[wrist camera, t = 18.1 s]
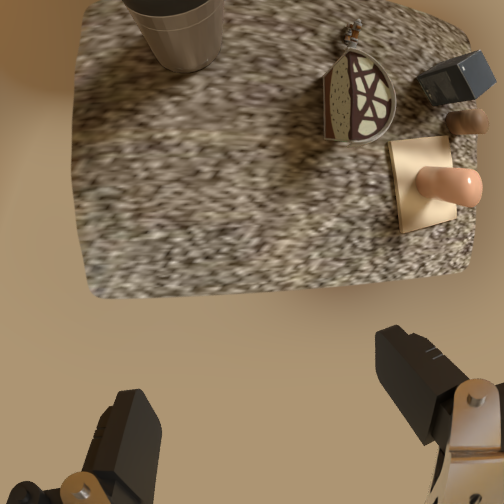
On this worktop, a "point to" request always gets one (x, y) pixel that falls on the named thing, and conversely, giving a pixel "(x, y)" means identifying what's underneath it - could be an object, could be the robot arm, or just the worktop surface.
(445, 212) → the birch board
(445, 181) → the salmon orange cylinder
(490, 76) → the box
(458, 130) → the walnut cylinder
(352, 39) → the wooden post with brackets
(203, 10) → the robot arm
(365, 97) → the food container
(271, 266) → the worktop surface
